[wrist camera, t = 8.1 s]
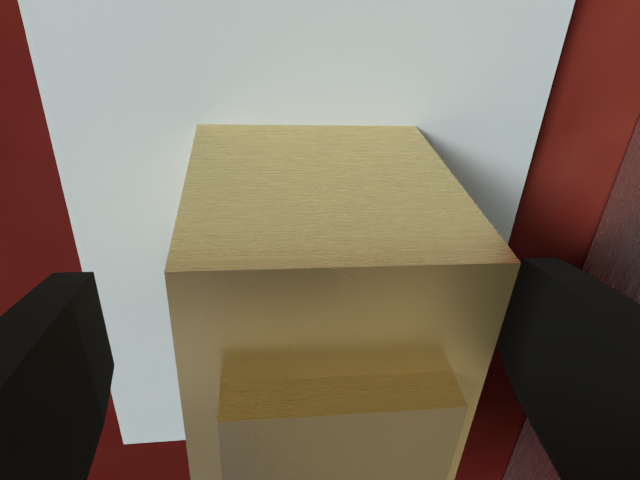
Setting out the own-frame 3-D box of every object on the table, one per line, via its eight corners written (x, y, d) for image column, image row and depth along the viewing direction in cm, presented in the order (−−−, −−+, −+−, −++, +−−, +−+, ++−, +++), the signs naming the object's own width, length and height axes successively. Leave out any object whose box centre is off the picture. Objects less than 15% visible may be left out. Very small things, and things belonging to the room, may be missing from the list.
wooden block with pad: (384, 328, 12) (457, 548, 8) (212, 336, 12) (194, 574, 8) (415, 126, 10) (546, 294, 6) (197, 124, 9) (155, 307, 5)
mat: (451, 403, 15) (458, 420, 15) (127, 424, 14) (123, 444, 14) (578, -86, 9) (598, -85, 8) (6, -117, 8) (-11, -119, 7)
